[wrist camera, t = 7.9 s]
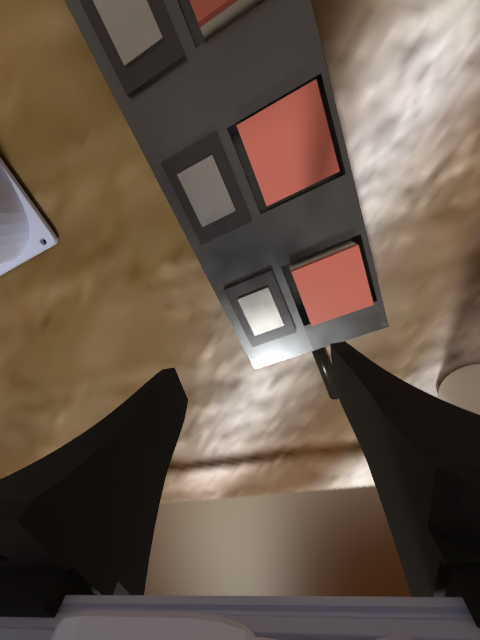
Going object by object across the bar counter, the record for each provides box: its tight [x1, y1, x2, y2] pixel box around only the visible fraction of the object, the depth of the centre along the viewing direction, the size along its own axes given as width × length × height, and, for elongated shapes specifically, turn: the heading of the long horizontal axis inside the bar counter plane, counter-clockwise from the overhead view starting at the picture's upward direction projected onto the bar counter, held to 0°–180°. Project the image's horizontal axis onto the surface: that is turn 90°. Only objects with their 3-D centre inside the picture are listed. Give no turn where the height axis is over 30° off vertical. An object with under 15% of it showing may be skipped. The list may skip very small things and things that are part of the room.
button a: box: [288, 239, 374, 326], centre depth 17 cm, size 4×4×3 cm
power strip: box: [65, 0, 389, 399], centre depth 17 cm, size 10×32×3 cm, turn 24°
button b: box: [237, 79, 340, 206], centre depth 14 cm, size 4×4×3 cm
